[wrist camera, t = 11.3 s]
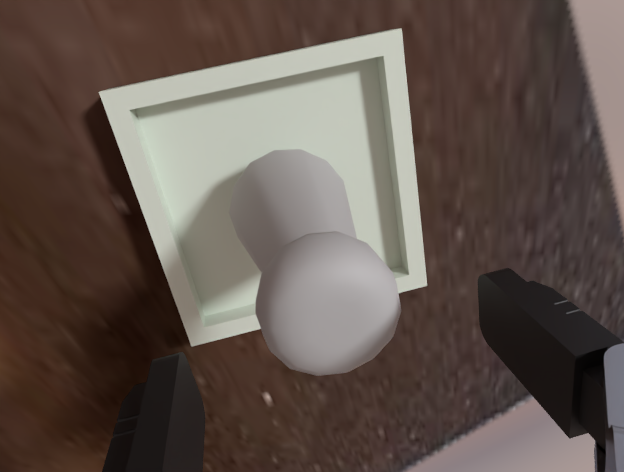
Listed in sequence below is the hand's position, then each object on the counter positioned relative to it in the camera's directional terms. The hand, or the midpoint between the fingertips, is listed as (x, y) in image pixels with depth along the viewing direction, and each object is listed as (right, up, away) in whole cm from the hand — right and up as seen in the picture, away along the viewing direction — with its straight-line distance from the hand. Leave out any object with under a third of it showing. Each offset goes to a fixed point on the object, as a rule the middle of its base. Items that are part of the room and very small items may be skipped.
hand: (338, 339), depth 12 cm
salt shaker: (-2, +5, +13) cm, 14 cm away
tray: (-2, +5, +13) cm, 14 cm away
